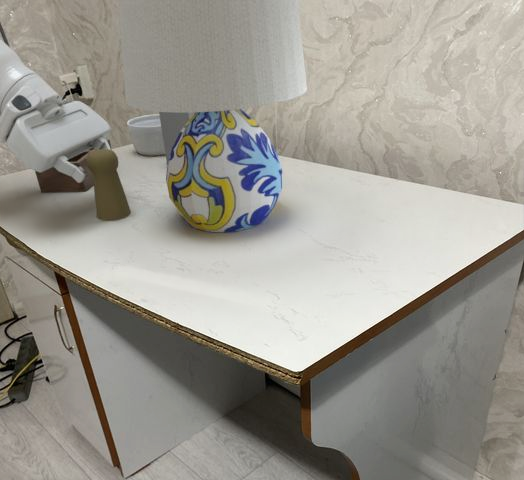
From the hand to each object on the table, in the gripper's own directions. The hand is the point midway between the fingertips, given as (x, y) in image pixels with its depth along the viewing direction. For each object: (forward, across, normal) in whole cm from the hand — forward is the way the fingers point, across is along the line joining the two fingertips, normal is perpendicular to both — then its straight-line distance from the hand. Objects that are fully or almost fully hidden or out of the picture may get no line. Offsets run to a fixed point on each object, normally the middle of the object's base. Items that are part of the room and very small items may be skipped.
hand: (99, 170), depth 91 cm
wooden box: (-8, -18, -18) cm, 27 cm away
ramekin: (-2, -41, -14) cm, 44 cm away
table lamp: (+21, -2, +10) cm, 23 cm away
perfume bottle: (+6, -31, -5) cm, 32 cm away
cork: (+6, 0, -5) cm, 8 cm away
